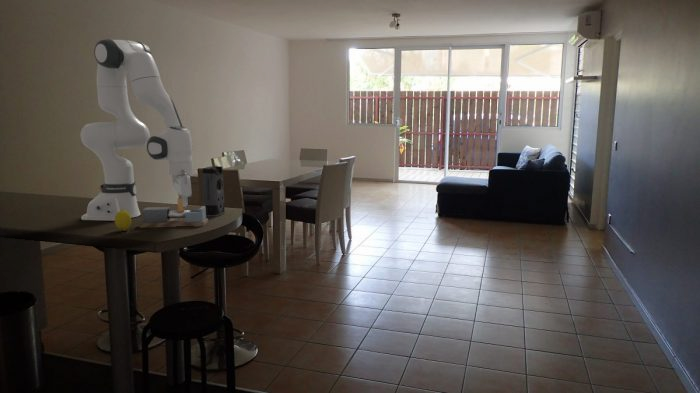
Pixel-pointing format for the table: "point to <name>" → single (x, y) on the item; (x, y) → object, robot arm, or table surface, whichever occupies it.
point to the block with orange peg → (180, 212)
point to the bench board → (173, 223)
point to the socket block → (196, 215)
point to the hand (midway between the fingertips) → (183, 204)
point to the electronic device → (213, 190)
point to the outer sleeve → (155, 214)
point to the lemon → (123, 220)
